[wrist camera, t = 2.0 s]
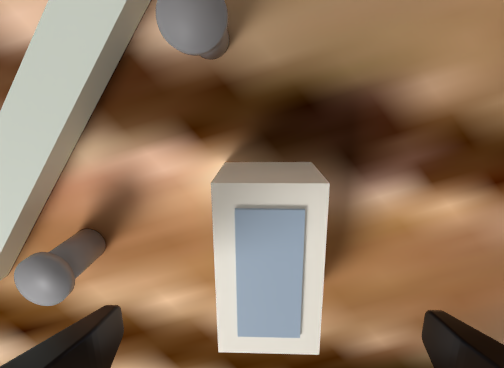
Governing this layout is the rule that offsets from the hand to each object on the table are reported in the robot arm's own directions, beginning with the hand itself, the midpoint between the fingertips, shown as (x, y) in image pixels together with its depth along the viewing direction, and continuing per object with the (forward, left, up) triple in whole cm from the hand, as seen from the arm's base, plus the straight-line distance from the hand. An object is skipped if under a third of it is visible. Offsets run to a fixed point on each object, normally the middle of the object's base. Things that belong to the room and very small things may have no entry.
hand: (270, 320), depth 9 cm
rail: (+9, 0, -6) cm, 11 cm away
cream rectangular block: (0, 0, -6) cm, 6 cm away
